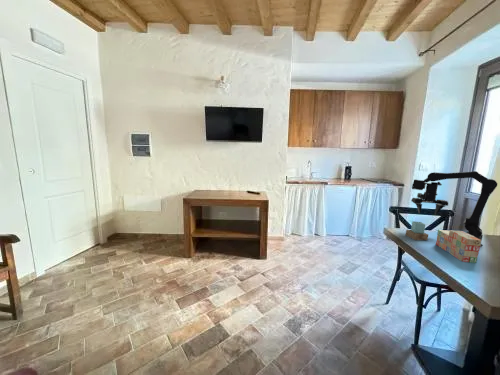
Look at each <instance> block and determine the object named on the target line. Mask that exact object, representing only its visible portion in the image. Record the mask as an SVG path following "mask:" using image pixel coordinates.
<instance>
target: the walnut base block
mask: <svg viewBox="0 0 500 375" xmlns="http://www.w3.org/2000/svg"><path fill="white" fill-rule="evenodd" d="M405 236H406V237H408V238H410V239H413V240H415V241H428V240H429V234H428V233H426V232H424V234H422V233H414V232H413V231H412V230H411V229H405Z"/></svg>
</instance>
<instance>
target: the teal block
mask: <svg viewBox="0 0 500 375" xmlns="http://www.w3.org/2000/svg"><path fill="white" fill-rule="evenodd" d="M410 230H412V231H413V232H414V233H422V234H424V233H425V230H426V224H425V223H424V222H422V221H416V220H415V221H413V220H412V221H411V229H410Z"/></svg>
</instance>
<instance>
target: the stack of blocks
mask: <svg viewBox="0 0 500 375" xmlns="http://www.w3.org/2000/svg"><path fill="white" fill-rule="evenodd" d="M436 234H437V236H436V240H435V241H436V242H435V245H436V246H438V247H439V248H440V247H441V248H440V249H442V250H444V251H445V252H447V253H448V254H450V255H452V256H453V257H455V258H456V259H457V260H459V261H460V262H463V263H471V264H477V261H478V257H479V252H480V249H481V244H482V240H483V239H482V240H480V239H478V238H476V237H474V236H472V235H470V234H468V233H466V232H465V231H462V230H454V229H453V230H451V229H449V230H445V229H444V230H443V229H438V230H437V233H436Z"/></svg>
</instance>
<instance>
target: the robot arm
mask: <svg viewBox="0 0 500 375" xmlns="http://www.w3.org/2000/svg"><path fill="white" fill-rule="evenodd" d="M453 179H456V180H457V179H474V180H475V181H476V182H478V183H479V184H481V189H480V194H479V197H478V198H477V200H476V204H475V206H474V208H473V210H472V213H471V214H470V215H469V216H466V217H465V220H464V221H463V225H464V228H465V230H466V232H465V233H468V234H470V235H472V236H474V237H476V238H478V239H480V240H483V236H484V235H483V229H481V227H479V226H480V218H481V215H482V214H483V211H484V210H485V207H486V204H487V202H488V200H489V197H490V196H491V194H492V193H493V192H494V191H495V190H496V189H497V187H498V182H497V181H496V180H495V179H492V178H487V177H486V176H484V175H483V174H481V173H479V172H478V171H475V170H472V171H464V172H463V171H462V172H461V171H460V172H437V171H436V172H431V173H429V174H428V175H427V177H426V178H425V179H423V180H421V179H413V182H412V185H411V189H412V190H417V191H423V190H425V191H424V192H423V193H421V192H418V193H417V196H416V197H412V198H411V201H410V202H412V203H413V204H415V206H416V207H417V208H416V209H417V211H418V214H421V213H422V208H423V203H425V204H435V209H434V215H435V216H437V215H438V213H439V212H440V211H441V210H442V209H443V208H445V207H447V206H449V201H448V200H444V199H436V198H437V196H438V193H437V192H438V187H439V186H442V185H443V184H442V183H441V182H440V181H443V180H453ZM436 181H437V182H436ZM481 246H484V245H483V244H482V243H481V245H480V247H481Z"/></svg>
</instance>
